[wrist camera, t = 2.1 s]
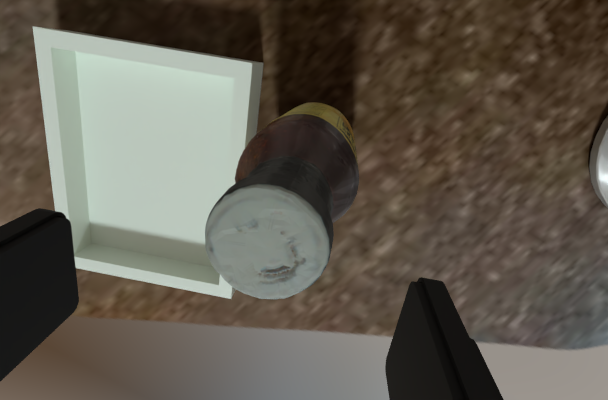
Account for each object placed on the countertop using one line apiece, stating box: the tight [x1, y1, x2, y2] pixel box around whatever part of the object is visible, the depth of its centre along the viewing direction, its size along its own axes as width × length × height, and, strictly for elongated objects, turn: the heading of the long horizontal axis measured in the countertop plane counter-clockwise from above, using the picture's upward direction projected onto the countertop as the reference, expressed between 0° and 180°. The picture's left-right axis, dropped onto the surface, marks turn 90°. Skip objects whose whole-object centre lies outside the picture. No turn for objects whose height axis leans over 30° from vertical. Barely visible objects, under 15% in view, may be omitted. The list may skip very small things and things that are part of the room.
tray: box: [33, 27, 263, 299], centre depth 30 cm, size 16×20×4 cm
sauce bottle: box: [205, 102, 359, 299], centre depth 20 cm, size 6×6×20 cm
